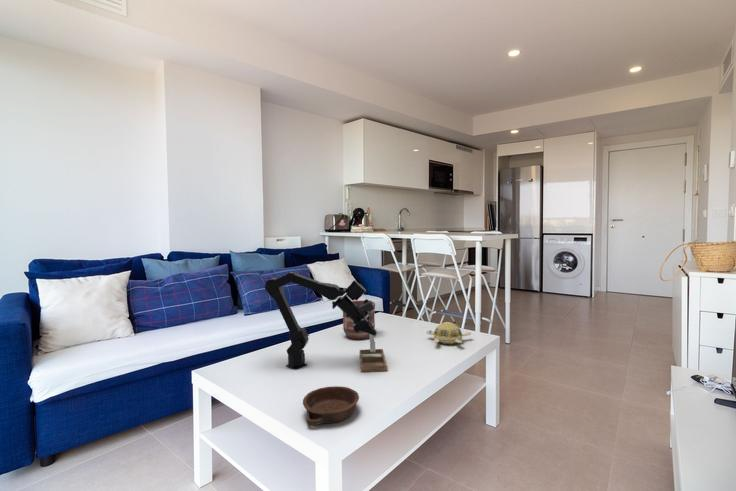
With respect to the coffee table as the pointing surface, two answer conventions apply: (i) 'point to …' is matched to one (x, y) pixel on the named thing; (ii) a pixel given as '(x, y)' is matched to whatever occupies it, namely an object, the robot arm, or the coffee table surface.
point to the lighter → (372, 343)
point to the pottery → (349, 325)
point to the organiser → (372, 361)
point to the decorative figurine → (447, 333)
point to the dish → (330, 404)
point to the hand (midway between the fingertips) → (376, 334)
